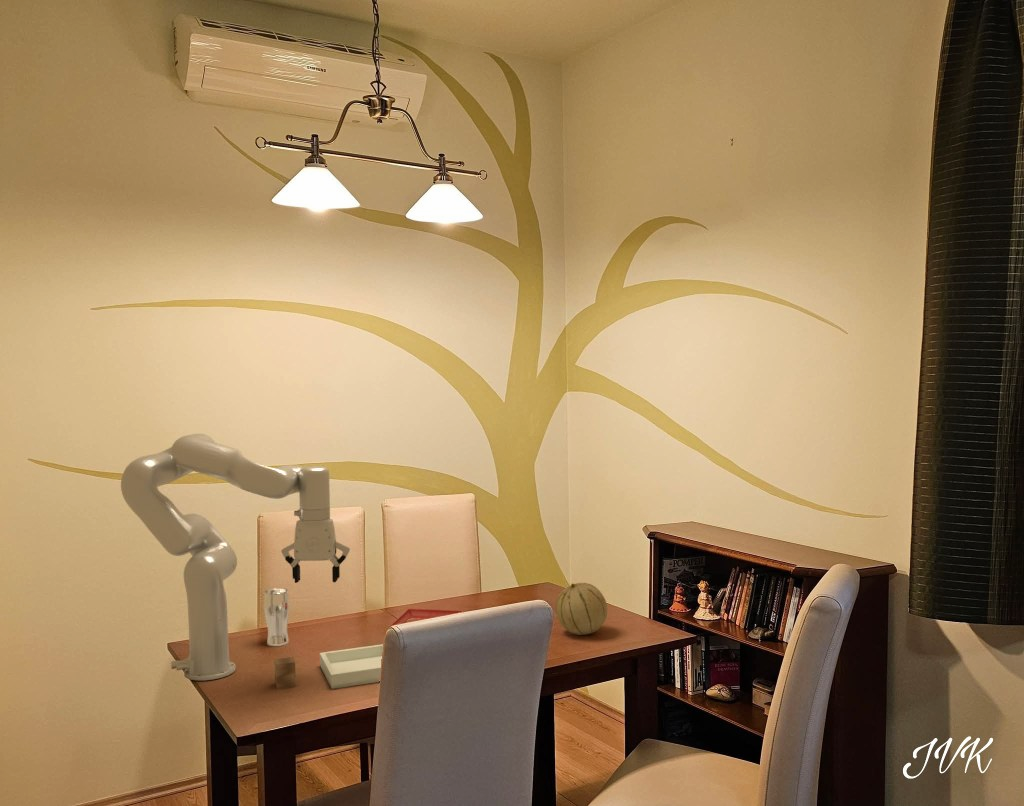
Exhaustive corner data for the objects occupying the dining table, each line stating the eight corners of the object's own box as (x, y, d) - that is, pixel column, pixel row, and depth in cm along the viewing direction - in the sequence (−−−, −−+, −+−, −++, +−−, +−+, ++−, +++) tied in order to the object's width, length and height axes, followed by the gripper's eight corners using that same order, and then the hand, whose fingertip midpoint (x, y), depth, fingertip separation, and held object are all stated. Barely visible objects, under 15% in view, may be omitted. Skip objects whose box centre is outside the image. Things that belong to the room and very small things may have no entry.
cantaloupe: (618, 633, 253) (617, 581, 252) (583, 645, 243) (582, 591, 242) (580, 622, 264) (579, 573, 263) (545, 633, 254) (544, 582, 253)
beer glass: (294, 639, 254) (292, 587, 253) (285, 647, 247) (283, 594, 247) (270, 639, 255) (268, 587, 254) (261, 646, 248) (259, 594, 247)
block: (277, 689, 215) (276, 664, 214) (275, 683, 219) (274, 659, 219) (296, 686, 216) (295, 662, 216) (293, 680, 221) (292, 656, 220)
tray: (331, 689, 214) (331, 674, 214) (320, 666, 231) (319, 652, 230) (404, 678, 220) (403, 664, 220) (387, 656, 237) (387, 643, 237)
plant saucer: (448, 639, 252) (448, 628, 252) (388, 636, 256) (388, 625, 256) (464, 621, 270) (464, 610, 270) (408, 619, 273) (407, 608, 273)
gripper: (277, 517, 221) (278, 585, 221) (346, 517, 221) (347, 584, 221) (284, 512, 228) (286, 578, 229) (351, 512, 228) (352, 577, 229)
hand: (316, 581), depth 225 cm, fingers open, 9 cm apart
